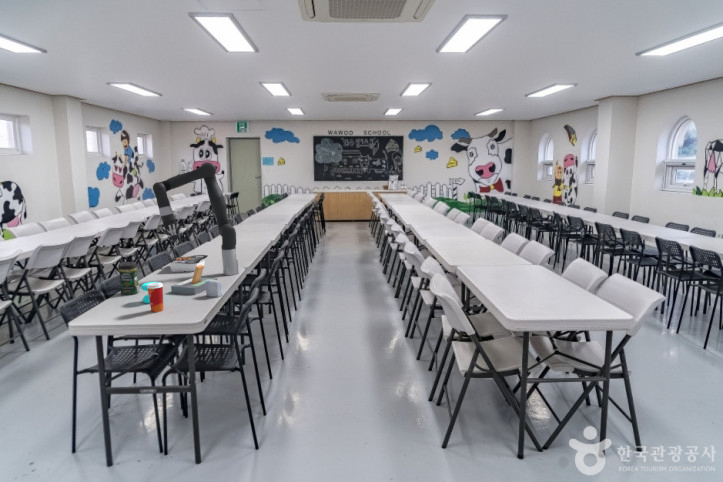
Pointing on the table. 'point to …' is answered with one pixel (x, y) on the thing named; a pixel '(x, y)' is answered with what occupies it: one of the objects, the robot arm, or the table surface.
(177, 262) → the food packaging
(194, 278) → the breaker lever
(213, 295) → the medicine box
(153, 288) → the paper cup
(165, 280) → the table surface
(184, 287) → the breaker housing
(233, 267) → the robot arm
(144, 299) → the donuts
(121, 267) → the coffee jar
